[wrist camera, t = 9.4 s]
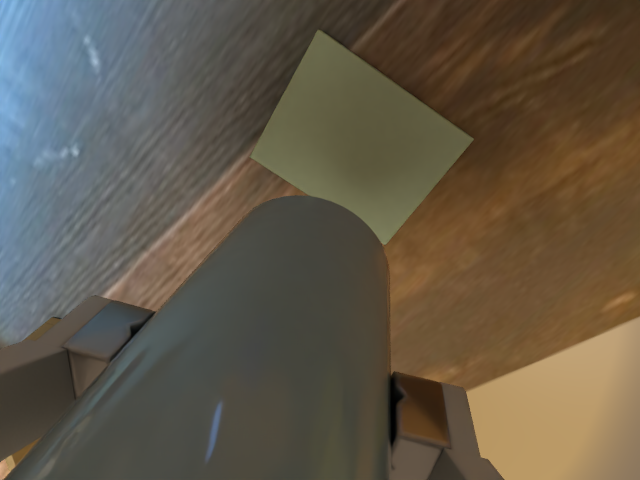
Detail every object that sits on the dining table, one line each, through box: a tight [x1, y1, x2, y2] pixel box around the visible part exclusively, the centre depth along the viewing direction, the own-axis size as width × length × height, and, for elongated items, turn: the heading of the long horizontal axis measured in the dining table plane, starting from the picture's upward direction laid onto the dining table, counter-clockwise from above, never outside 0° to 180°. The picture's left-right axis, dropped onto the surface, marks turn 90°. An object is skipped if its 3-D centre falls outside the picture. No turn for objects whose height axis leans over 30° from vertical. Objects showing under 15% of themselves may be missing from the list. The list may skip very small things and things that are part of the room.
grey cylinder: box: [3, 195, 392, 480], centre depth 8 cm, size 7×5×11 cm
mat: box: [250, 29, 474, 245], centre depth 23 cm, size 8×10×1 cm
